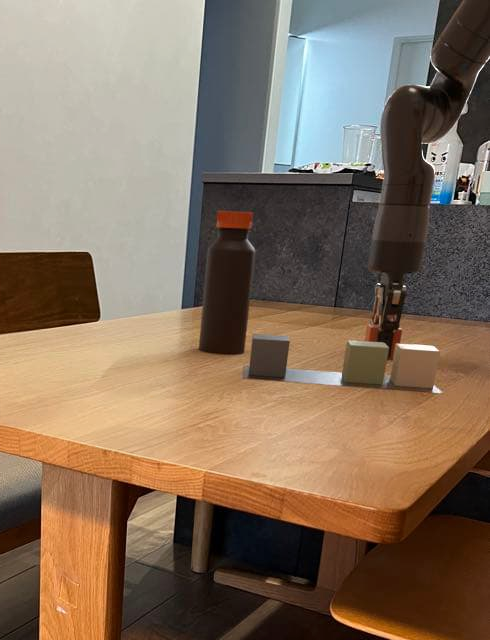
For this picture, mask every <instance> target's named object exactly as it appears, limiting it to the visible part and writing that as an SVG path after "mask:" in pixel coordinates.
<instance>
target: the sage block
mask: <svg viewBox="0 0 490 640" xmlns="http://www.w3.org/2000/svg"><path fill="white" fill-rule="evenodd" d="M345 346H346V347H345V353H344V359H343V366H342V377H343V379H344V381H345V382H351V383H365V384H378V385H383V381H384V376H386V375H385V374H386V369H387V363H388V359H387V358H388V352H389V347H388V346H387V345H386V344H385V343H383V342H368V341H365V340H354V339H353V340H352V339H351V340H350V339H347V340H346V345H345Z"/></svg>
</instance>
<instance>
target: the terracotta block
mask: <svg viewBox="0 0 490 640" xmlns="http://www.w3.org/2000/svg"><path fill="white" fill-rule="evenodd" d="M378 326H379V325H377V324H373V323H367V324H366V330H365V337H364V341H368V342H377V337H378ZM402 334H403V329H402V328H401V327H400V326H399V328H398V330H397V331H396V332H395V333H394V337H393V343H392V349H391V355H390V357H389V358H387V360H388V359H393V356H394V350H395V344H396V343H397V344H401V341H402V340H401V339H402Z"/></svg>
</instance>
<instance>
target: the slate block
mask: <svg viewBox="0 0 490 640" xmlns="http://www.w3.org/2000/svg"><path fill="white" fill-rule="evenodd" d="M290 341H291V340H290V337H289V335H276V334H262V333H261V334H260V333H253V334H252V338H251V347H250V356H249V365H248V366H249V375H257V376H271V377H284V378H285V375H286V368H288V367H287V366H288V360H289V359H288V358H289V351H290V343H291V342H290Z"/></svg>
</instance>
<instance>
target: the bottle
mask: <svg viewBox="0 0 490 640" xmlns="http://www.w3.org/2000/svg"><path fill="white" fill-rule="evenodd" d="M253 217H254V213H253V212H251V211H250V212H249V211H228V210H218V211H217V217H216V226H215V227H216V228H217V229H216V231H217V238H216V239H215V240H213V242H212V243H211V244H210V245H209V247H208V248H207V252H206V253H207V254H206V263H205V264H206V265H205V274H204V275H205V277H204V288H203V295H202V297H203V298H202V309H201V319H200V331H199V342H198V351H199V352H202V353H207V354H213V355H222V356H224V355H225V356H233V355H234V356H235V355H237V356H238V355H243V354H245V349H246V342H247V341H246V340H247V332H248V331H247V330H248V322H249V314H250V313H249V312H250V303H251V296H252V285H253V278H254V269H255V258H256V249H255V247H254V246H253V244H252V243H251V242H250V240H249V233H251V229H252V226H253V225H252V223H253Z"/></svg>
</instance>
